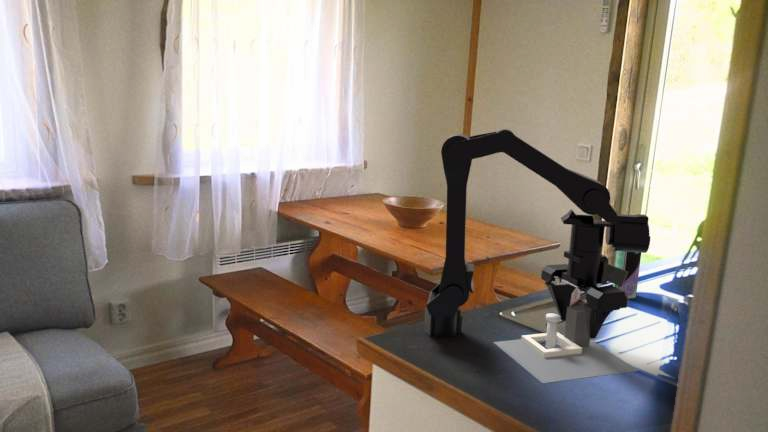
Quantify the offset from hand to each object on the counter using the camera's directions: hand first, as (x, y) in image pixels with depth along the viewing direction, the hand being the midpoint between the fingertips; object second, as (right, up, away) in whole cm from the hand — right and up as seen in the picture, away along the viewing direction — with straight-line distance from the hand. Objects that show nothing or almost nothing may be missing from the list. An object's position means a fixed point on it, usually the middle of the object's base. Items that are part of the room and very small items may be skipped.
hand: (577, 329), depth 114 cm
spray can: (+23, +2, +36) cm, 42 cm away
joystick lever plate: (-4, -3, -1) cm, 5 cm away
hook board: (-4, -5, -4) cm, 8 cm away
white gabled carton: (+7, +1, +29) cm, 30 cm away
